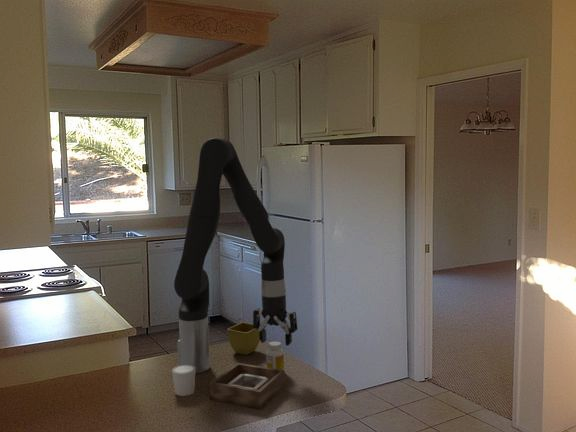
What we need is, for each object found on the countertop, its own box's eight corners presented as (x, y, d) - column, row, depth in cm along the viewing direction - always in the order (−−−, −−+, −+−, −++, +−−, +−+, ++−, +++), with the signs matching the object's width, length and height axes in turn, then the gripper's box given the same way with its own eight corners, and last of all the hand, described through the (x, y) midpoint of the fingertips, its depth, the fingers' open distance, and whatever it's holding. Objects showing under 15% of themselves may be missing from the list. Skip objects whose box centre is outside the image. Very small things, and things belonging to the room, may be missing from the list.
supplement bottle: (284, 370, 175) (284, 340, 174) (283, 376, 170) (282, 346, 169) (268, 369, 176) (267, 340, 175) (265, 376, 171) (265, 346, 170)
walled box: (210, 399, 155) (209, 383, 154) (238, 378, 169) (237, 362, 169) (260, 409, 148) (260, 392, 148) (285, 386, 163) (284, 370, 162)
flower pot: (247, 358, 186) (246, 332, 185) (227, 353, 191) (226, 328, 190) (262, 350, 193) (261, 325, 192) (242, 346, 198) (242, 322, 197)
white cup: (201, 388, 163) (200, 366, 162) (187, 398, 156) (186, 374, 156) (182, 385, 165) (181, 362, 165) (168, 394, 159) (167, 371, 158)
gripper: (247, 294, 170) (250, 345, 171) (289, 297, 164) (291, 349, 166) (258, 288, 176) (261, 337, 178) (299, 291, 171) (301, 341, 172)
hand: (275, 343), depth 172 cm, fingers open, 8 cm apart
